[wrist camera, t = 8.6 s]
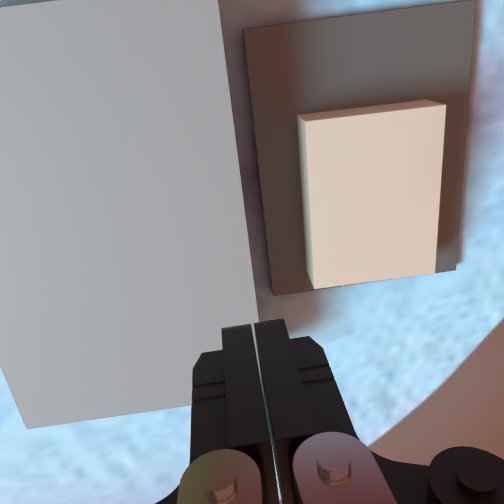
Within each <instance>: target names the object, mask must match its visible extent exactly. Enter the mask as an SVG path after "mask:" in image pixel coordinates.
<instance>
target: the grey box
mask: <svg viewBox="0 0 504 504" xmlns="http://www.w3.org/2000/svg"><path fill="white" fill-rule="evenodd" d="M257 322H259V318H258V310H257V302H256V294H255V286H254V279H253V271H252V263H251V255H250V247H249V240H248V232H247V224H246V216H245V208H244V201H243V193H242V185H241V177H240V169H239V162H238V154H237V146H236V138H235V130H234V123H233V115H232V107H231V99H230V91H229V84H228V76H227V68H226V60H225V52H224V44H223V37H222V29H221V21H220V13H219V5H218V0H56V1H48V2H40V3H31V4H23V5H15V6H7V7H0V367H1V369H2V372H3V374H4V376H5V379H6V381H7V383H8V386H9V388H10V391H11V393H12V395H13V398H14V400H15V403H16V405H17V407H18V410H19V412H20V414H21V417H22V419H23V422H24V424H25V426H26V429H32V428H39V427H46V426H52V425H59V424H66V423H73V422H80V421H87V420H94V419H100V418H107V417H114V416H121V415H128V414H135V413H141V412H148V411H155V410H162V409H169V408H176V407H183V406H189V405H192V369H193V367H194V365H195V364H196V362H197V360H198V358H199V357H200V355H201V353H203V352H210V351H216V350H223V349H222V334H221V328H225V327H232V326H238V325H245V324H251V326H252V332H253V338H254V343H255V349H256V355H257V361H258V367H259V360H258V353H257V345H256V338H255V330H254V323H257ZM259 373H260V367H259ZM260 378H261V375H260ZM261 384H262V382H261ZM262 390H263V388H262Z"/></svg>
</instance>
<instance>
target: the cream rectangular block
mask: <svg viewBox="0 0 504 504" xmlns="http://www.w3.org/2000/svg"><path fill="white" fill-rule="evenodd" d="M445 115H446V105H445V104H441V103H438V102H434V101H430V100H418V101H410V102H401V103H393V104H384V105H376V106H367V107H359V108H351V109H342V110H334V111H325V112H317V113H308V114H300V115H297V122H298V139H299V155H300V171H301V188H302V204H303V221H304V237H305V253H306V270H307V273H308V276H309V278H310V280H311V283H312V285H313V287H314V289H319V288H327V287H334V286H342V285H350V284H357V283H365V282H373V281H380V280H388V279H396V278H403V277H411V276H419V275H427V274H434V273H435V264H436V249H437V234H438V219H439V205H440V190H441V175H442V160H443V145H444V130H445Z"/></svg>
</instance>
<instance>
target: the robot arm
mask: <svg viewBox="0 0 504 504" xmlns="http://www.w3.org/2000/svg"><path fill="white" fill-rule="evenodd" d="M254 330H255V338H256V345H257V353H258V360H259V367H260V373H259V367H258V361H257V355H256V349H255V343H254V338H253V332H252V326H251V324H245V325H238V326H232V327H225V328H221V334H222V349H223V350H216V351H210V352H203V353H201V355H200V357H199V358H198V360H197V362H196V364H195V365H194V367H193V369H192V408H191V446H190V464H189V467H188V468H187V469H186V470H185V472H184V474H183V476H182V478H181V480H180V484H179V485H178V487H177V488H176V489H175V490H174V491H173V492H172V493H171V494H170V495H168V496H167V497H165V498H164V499H163V500H161V501H159V502H157V503H156V504H279V496H278V488H277V481H276V473H275V466H274V459H275V465H276V471H277V476H278V482H279V488H280V494H281V500H282V504H504V460H503V459H501V458H499V457H497V456H496V455H494V454H491V453H489V452H487V451H484V450H481V449H478V448H473V447H463V446H462V447H453V448H448V449H446V450H444V451H442V452H440V453H439V454H437V455H436V456H435V457H434V458H433V460H432V462H431V464H430V466H426V465H417V464H409V463H402V462H396V461H392V460H389V459H386V458H384V457H381V456H379V455H377V454H376V453H374V452H372V451H371V450H369V449H368V447H367V446H366V445H365V444H364V443H362V442H361V441H360V439H359V438H358V437H357V435H356V433H355V430H354V428H353V425H352V423H351V420H350V417H349V415H348V412H347V410H346V407H345V404H344V402H343V399H342V397H341V394H340V391H339V389H338V386H337V384H336V381H335V380H334V376H333V373H332V371H331V368H330V367H329V363H328V360H327V358H326V355H325V352H324V350H323V348H322V347H321V346H320V345H319V344H317V343H316V342H315V341H314V340H313V339H312V338H311V337H309V336H306V337H300V338H293V339H289V335H288V332H287V328H286V325H285V321H284V319H277V320H270V321H264V322H257V323H254ZM260 375H261V378H260ZM261 382H262V384H261ZM262 388H263V390H262ZM263 395H264V396H263ZM264 401H265V402H264ZM265 406H266V408H265ZM266 412H267V414H266ZM267 418H268V419H267ZM268 424H269V425H268ZM269 430H270V431H269ZM270 436H271V437H270ZM271 441H272V443H271ZM272 447H273V451H272ZM273 453H274V458H273Z"/></svg>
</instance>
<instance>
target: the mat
mask: <svg viewBox="0 0 504 504" xmlns="http://www.w3.org/2000/svg"><path fill="white" fill-rule="evenodd" d="M475 7H476V0H468V1H460V2H452V3H444V4H436V5H428V6H420V7H412V8H404V9H396V10H388V11H381V12H373V13H365V14H357V15H349V16H341V17H333V18H325V19H317V20H309V21H301V22H293V23H285V24H277V25H269V26H261V27H253V28H245V29H243V36H244V45H245V54H246V63H247V72H248V81H249V90H250V99H251V108H252V117H253V126H254V135H255V144H256V153H257V162H258V171H259V180H260V189H261V198H262V207H263V216H264V225H265V234H266V243H267V252H268V261H269V270H270V279H271V288H272V294H273V296H276V295H283V294H290V293H297V292H304V291H311V290H318V289H314V287H313V285H312V283H311V280H310V278H309V276H308V273H307V270H306V253H305V237H304V221H303V204H302V188H301V171H300V155H299V139H298V122H297V115H300V114H308V113H317V112H325V111H334V110H342V109H351V108H359V107H367V106H376V105H384V104H393V103H401V102H410V101H418V100H430V101H434V102H438V103H441V104H445V105H446V115H445V130H444V145H443V160H442V175H441V190H440V205H439V219H438V234H437V249H436V264H435V273H439V272H446V271H453V270H456V261H457V248H458V234H459V221H460V207H461V194H462V181H463V167H464V154H465V140H466V127H467V114H468V100H469V87H470V74H471V60H472V47H473V33H474V20H475ZM403 278H404V277H403ZM388 280H389V279H388ZM380 281H382V280H380ZM373 282H375V281H373ZM365 283H368V282H365ZM357 284H361V283H357ZM350 285H354V284H350ZM342 286H347V285H342ZM334 287H340V286H334ZM327 288H332V287H327ZM319 289H325V288H319Z"/></svg>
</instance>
